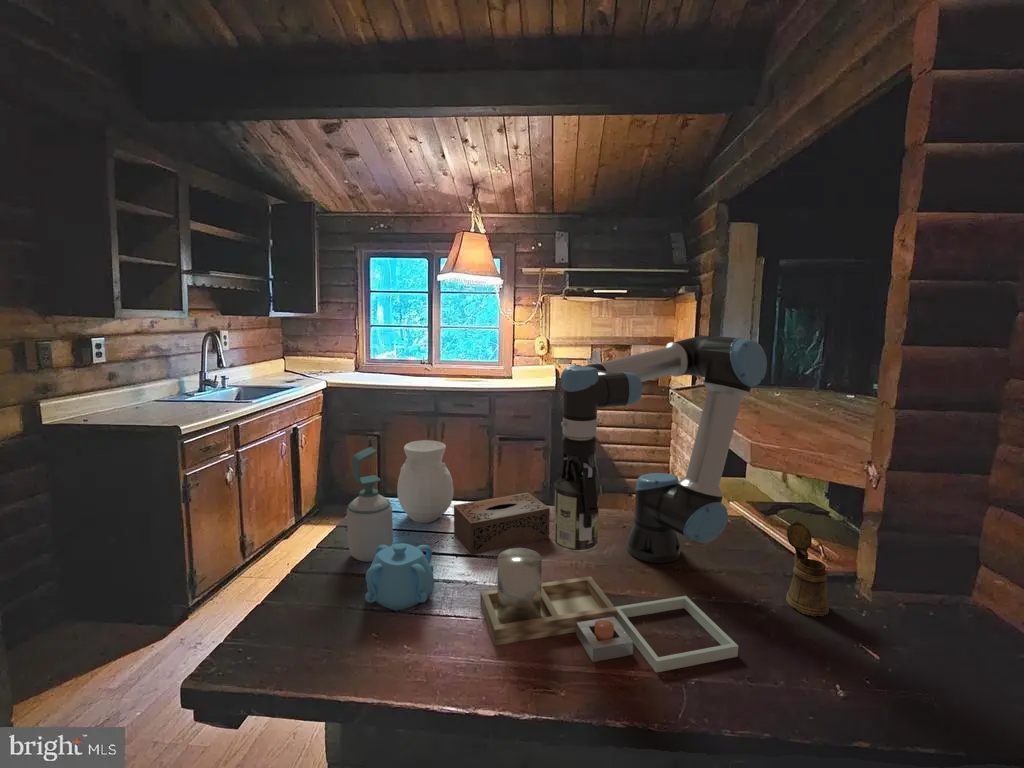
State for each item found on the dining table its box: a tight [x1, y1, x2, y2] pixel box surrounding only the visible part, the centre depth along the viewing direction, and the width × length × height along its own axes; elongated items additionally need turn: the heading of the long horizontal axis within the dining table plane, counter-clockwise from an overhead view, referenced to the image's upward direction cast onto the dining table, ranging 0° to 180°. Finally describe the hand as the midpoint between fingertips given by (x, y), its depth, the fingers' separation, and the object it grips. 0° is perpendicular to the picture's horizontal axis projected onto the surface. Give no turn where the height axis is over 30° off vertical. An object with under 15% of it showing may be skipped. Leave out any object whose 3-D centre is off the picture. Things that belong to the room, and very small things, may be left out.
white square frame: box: [614, 595, 739, 673], centre depth 116 cm, size 19×19×2 cm
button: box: [594, 620, 614, 641], centre depth 113 cm, size 4×4×4 cm
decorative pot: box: [364, 542, 435, 612], centre depth 129 cm, size 16×16×14 cm
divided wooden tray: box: [479, 575, 617, 646], centre depth 123 cm, size 28×15×4 cm, turn 105°
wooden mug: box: [785, 520, 830, 617], centre depth 129 cm, size 9×14×18 cm, turn 179°
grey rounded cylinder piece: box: [496, 547, 543, 624], centre depth 120 cm, size 10×10×14 cm
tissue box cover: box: [453, 491, 551, 556], centre depth 163 cm, size 26×14×10 cm, turn 116°
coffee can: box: [553, 478, 601, 554], centre depth 121 cm, size 10×10×14 cm
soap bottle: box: [346, 446, 394, 563], centre depth 149 cm, size 12×12×31 cm
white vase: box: [396, 439, 455, 524], centre depth 175 cm, size 19×18×25 cm
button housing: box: [575, 617, 634, 663], centre depth 113 cm, size 9×9×3 cm
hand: (576, 529), depth 122 cm, fingers closed on coffee can, 10 cm apart
